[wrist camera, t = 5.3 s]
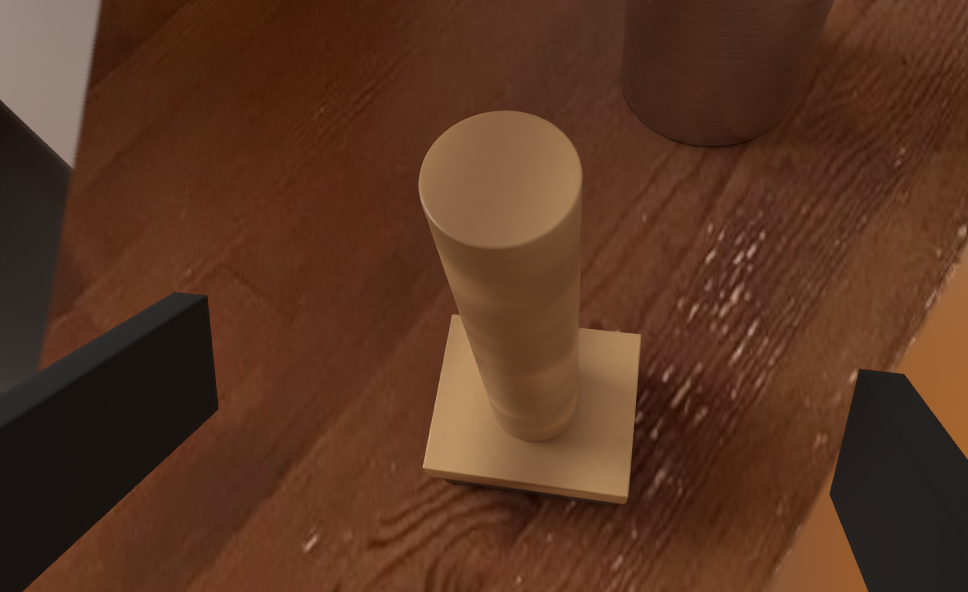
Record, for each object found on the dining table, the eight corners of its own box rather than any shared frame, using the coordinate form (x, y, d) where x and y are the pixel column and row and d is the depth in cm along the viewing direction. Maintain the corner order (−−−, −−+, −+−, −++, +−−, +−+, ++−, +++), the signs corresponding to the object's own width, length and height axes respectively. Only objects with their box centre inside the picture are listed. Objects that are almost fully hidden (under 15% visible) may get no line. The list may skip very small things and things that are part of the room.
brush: (438, 487, 25) (278, 299, 11) (464, 346, 27) (354, 44, 13) (621, 514, 24) (686, 344, 10) (634, 366, 26) (702, 61, 12)
